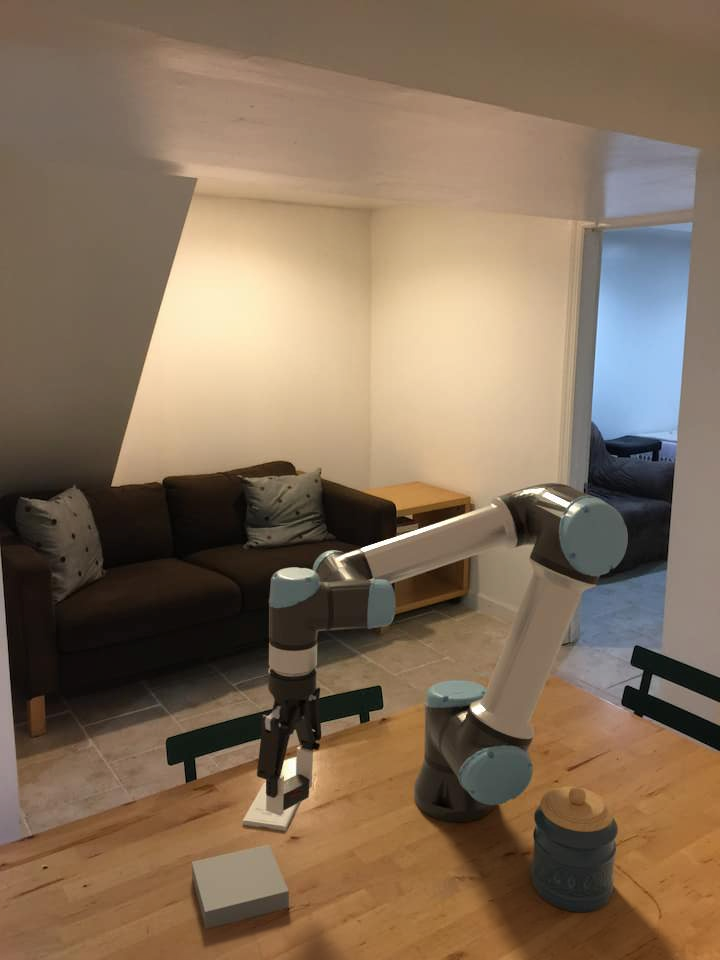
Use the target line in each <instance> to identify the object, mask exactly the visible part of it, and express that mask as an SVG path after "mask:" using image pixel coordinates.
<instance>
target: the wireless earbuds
mask: <svg viewBox="0 0 720 960" xmlns="http://www.w3.org/2000/svg"><path fill="white" fill-rule="evenodd" d="M309 783H310V780H309V779H308V778H306V777H305V776H303V775H301V774H298V775H296V774H295V775H293V776H291V777H290V778H288V779H284V798H283V811H284V810H286V809H288V808H290V807H292V806H294V805H296V804H297V803H301V802H303V801H305V800H307V799H309V796H310V789H309Z"/></svg>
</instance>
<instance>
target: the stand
mask: <svg viewBox="0 0 720 960" xmlns="http://www.w3.org/2000/svg"><path fill="white" fill-rule="evenodd" d="M191 878H192V882H193V883H192V884H193V886H194V890H195V893H196V898H197V901H198V905H199V908H200V913H201V916H202V920H203V923H204V929H205V930H207V929H208V930H209V929H211V928H215V927H219V926H223V925H226V924H231V923H234V922H239V921H242V920H246V919H250V918H253V917H254V918H255V917H258V916H263V915H266V914H270V913H273V912H277V911H280V910H285V909H289V908H290V896H289V895H290V891H289V888H288V886H287V883H286V882H285V878H284V876H283V874H282V871H281V870H280V867H279V864H278V862H277V859H276V857H275V855H274V853H273V850H272V848H271V846H270V843H269V844H264V845H261V846H256V847H251V848H247V849H242V850H239V851H233V852H228V853H225V854H220V855H215V856H211V857H207V858H202V859H199V860H194V861H193V860H192V861H191Z"/></svg>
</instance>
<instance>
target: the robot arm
mask: <svg viewBox="0 0 720 960" xmlns="http://www.w3.org/2000/svg"><path fill="white" fill-rule="evenodd" d="M628 537H629V535H628V527H627V525H626V524H625V520H624V518H623V516H622V515H621V514H620V512H619V511H618V510H617V509H616V508H615V507H613V506H612V505H610V504H609V503H607V502H606V501H605V500H603V499H601V498H599V497H597V496H596V497H595V496H592V495H590V494H588V493H585V492H583V491H580V490H578V489H576V488H574V487H572V486H570V485H567V484H563V483H556V482H552V483H551V482H550V483H549V482H548V483H541V484H536V485H532V486H528V487H527V486H526V487H524V488H521V489H518V490H515V491H511V492H508V493H505V494H502V495H499V496H495V497H493V498H492V499H491V501H490V503H489V505H486V506H484V507H481V508H480V507H479V508H478V509H475V510H473V511H468V512H466V513H463V514H461V515H460V514H459V515H457V516H454V517H451V518H448V519H445V520H442V521H439V522H436V523H434V524H433V523H432V524H430V525H428V526H423V527H421V528H418V529H415V530H412V531H408V532H406V533H403V534H400V535H397V536H395V537H391V538H388V539H385V540H382V541H378V542H376V543H373V544H370V545H367V546H364V547H361V548H358V549H354V550H352V551H348V552H344V551H342V550H341V551H340V550H336V549H335V550H334V549H333V550H332V549H331V550H327V551H325V552H322V553H321V554H320V555H319V556H318V557H317V558H316V560H315V561H314V564H313V566H312V569H311V568H307V567H302V568H301V567H297V566H296V567H295V566H294V567H285V568H281V569H279V570H277V571H276V572H274V573H273V574H272V576H271V579H270V588H269V589H270V590H269V598H268V610H269V613H268V622H269V623H268V642H269V643H268V646H269V647H268V665H269V668H268V671H267V672H268V673H267V674H268V675H267V680H268V681H267V685H268V686H267V689H268V692H269V693H270V694H271V695H272V697H273V699H274V701H273V705H272V709H271V710H272V712H271V713H270V714H269V715H266V714H262V716H261V717H260V718H261V719H260V724H261V725H260V726H261V735H260V742H259V751H258V752H259V753H258V760H257V770H256V777H258V778H260V779H263V780H265V782H266V811H269V812H272V813H274V814H277V815H280V816H281V815H282V814H283V798H284V781H285V775H282V770H283V767H284V762H285V758H286V754H287V749H288V745H289V740H290V736H292V735H293V734H294V732H296V736H297V738H298V742H299V745H300V746H298V747H296V752H295V753H296V758H295V759H296V761H295V762H296V763H295V765H296V766H295V775H298V774H301V775H303V776H305V777H306V778H308V779H309V780H310V783H309V790H310V789H311V788H312V787H313V765H314V764H313V763H314V762H313V761H314V750H315V751H319V749H320V747H321V745H320V744H321V743H318V742H319V741H320V740H321V739H322V725H321V724H322V723H321V709H320V695H321V687H320V686H317V668H316V667H317V666H318V634H319V632H323V631H324V632H329V631H338V630H339V631H340V630H343V631H344V630H359V629H360V630H361V629H368V630H371V629H374V628H381V627H383V628H384V627H387V626H389V625H391V623H393V621H394V618H395V615H396V595H395V591H394V587H393V585H392V584H393V583H397V582H400V581H404V580H405V579H408V578H411V577H414V576H418V575H421V574H424V573H426V572H427V573H428V571H432V570H435V569H438V568H441V567H444V566H447V565H450V564H453V563H456V562H459V561H462V560H465V559H468V558H471V557H474V556H476V555H479V554H482V553H486V552H487V551H492V550H494V549H497V548H501V547H506V548H508V549H511V550H512V549H515V548H519V547H522V546H527V545H528V546H529V545H533V548H532V550H531V553H530V555H529V558H528V560H529V563H530V564H531V567H532V569H533V573H532V575H531V579H530V580H529V583H528V586H527V588H526V590H525V593H524V595H523V598H522V600H521V603H520V605H519V607H518V610H517V613H516V615H515V616H514V617H515V618H514V619H513V620H514V621H513V623H512V624H511V625H512V626H511V627H510V630H509V633H508V635H507V638H506V640H505V642H504V644H503V647H502V650H501V653H500V654H499V657H498V659H497V663H496V665H495V667H494V669H493V673H492V674H491V677H490V679H489V682H488V685H487V687H486V686H484V685H482V684H480V683H478V682H473V681H468V680H445V681H441V682H437V683H435V684H433V685H432V686H429V688H428V690H427V691H426V697H425V703H424V706H425V710H424V713H425V714H424V723H425V724H424V754H423V756H424V757H423V758H424V759H423V761H422V763H421V765H420V766H421V767H420V769H419V771H418V774H417V777H416V779H415V782H414V786H413V789H414V790H413V798H414V803H415V804H416V806H417V807H418V808H419V809H420V810H421V811H422V812H424V814H426V815H428V816H430V817H432V818H433V819H437V820H440V821H444V822H448V823H450V822H451V823H467V822H473V821H477V820H479V819H481V818H483V817H485V816H486V815H488V814H489V813H490V812H491V810H492V809H493V808H494V806H496V805H503V804H506V803H508V802H509V801H510V800H514V799H516V798H518V797H519V796H520V795H522V793H523V792H525V790H526V789H527V788H528V787H529V785H530V783H531V782H532V781H531V780H532V778H533V773H534V767H533V764H532V759H531V757H530V755H529V754H528V751H529V749H530V746H531V744H532V742H533V739H534V736H535V731H536V730H535V729H534V727H533V725H532V722H531V719H532V717H533V716H534V715H533V714H534V712H535V710H536V708H537V705H538V702H539V700H540V697H541V695H542V692H543V690H544V688H545V685H546V683H547V680H548V677H549V675H550V673H551V671H552V667H553V665H554V664H555V661H556V659H557V656H558V653H559V651H560V649H561V646H562V644H563V643H564V642H563V641H564V638H565V637H566V634H567V631H568V629H569V627H570V624H571V622H572V619H573V617H574V614H575V612H576V610H577V607H578V605H579V602H580V600H581V597H582V595H583V593H584V592H585V591H586V590H589V589H591V588H594V587H596V586H597V583H598V581H599V580H600V577H601V575H606V574H608V573H609V572H610V570H612V569H615V568H616V567H618V565H619V564H620V563H621V561H622V560H623V558H624V556H625V554H626V551H627V547H628V542H629V541H628V540H629V538H628ZM284 726H285V727H284ZM317 741H318V742H317Z"/></svg>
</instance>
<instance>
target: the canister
mask: <svg viewBox="0 0 720 960" xmlns="http://www.w3.org/2000/svg"><path fill="white" fill-rule="evenodd" d="M533 820H534V823H535V827H534V829H533V832H532V833H533V834H532V836H533V846H532V847H533V849H532V850H533V851H532V861H531V863H530V864H531V865H530V874H531V875H530V876H531V880H532V886H533V888H534V889H535V891H536V892H537V894H538V895H539V897H541V898H542V899H543V900H545V901H546V902H547V903H549V904H551V905H552V906H555V907H557V908H558V909H562V910H565V911H569V912H577V913H585V912H587V913H588V912H592V911H596V910H598V909H601V908H603V907H604V906H605V905H606V904H608V902H609V900H610V898H611V895H612V893H613V888H614V883H615V882H614V866H615V865H614V864H615V855H616V851H617V844H616V841H615V839H616V838H617V836H618V833H619V832H618V831H619V826H618V823H617V821H616V819H615V817H614V810H613V808H612V806H611V804H609V803H608V801H607V800H605V798H603V797H601V796H600V795H598V794H596V792H593V791H591V790H589V789H586V788H583V787H580V786H563V787H558V788H554V789H551V790H550V791H548V792H546V793H545V794H543V796H542V797H541V799H540V804H539V805H538V806H537V807H536V809H535V810H534V816H533Z"/></svg>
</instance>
